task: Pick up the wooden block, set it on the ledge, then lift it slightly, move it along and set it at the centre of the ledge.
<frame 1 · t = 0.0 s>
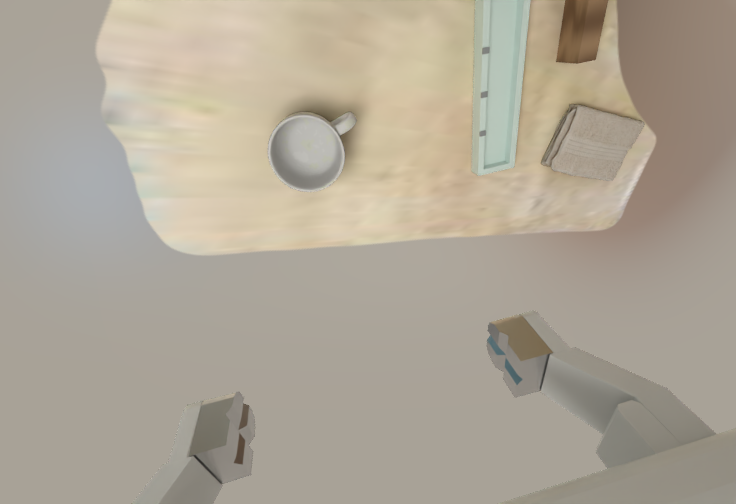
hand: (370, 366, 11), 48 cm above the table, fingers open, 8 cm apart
washcloth: (586, 142, 64), on the table
ledge: (495, 88, 54), on the table
teacup: (314, 137, 53), on the table
wooden block: (570, 19, 51), on the table
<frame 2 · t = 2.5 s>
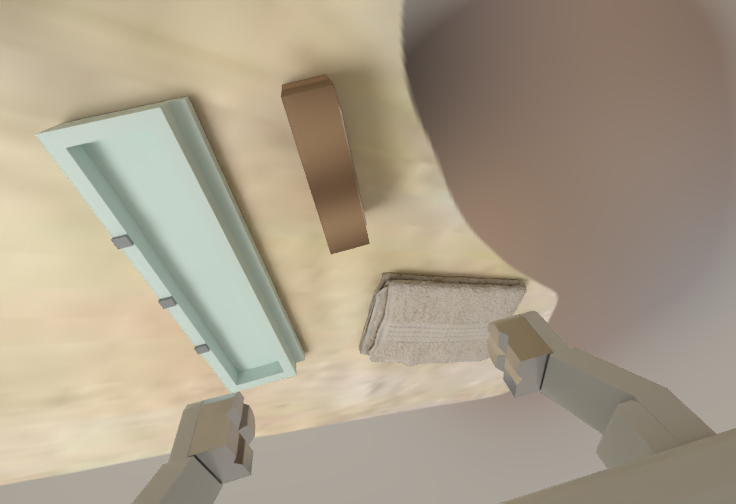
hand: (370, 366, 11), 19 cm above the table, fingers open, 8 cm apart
washcloth: (436, 310, 39), on the table
ledge: (217, 270, 29), on the table
wooden block: (325, 157, 25), on the table
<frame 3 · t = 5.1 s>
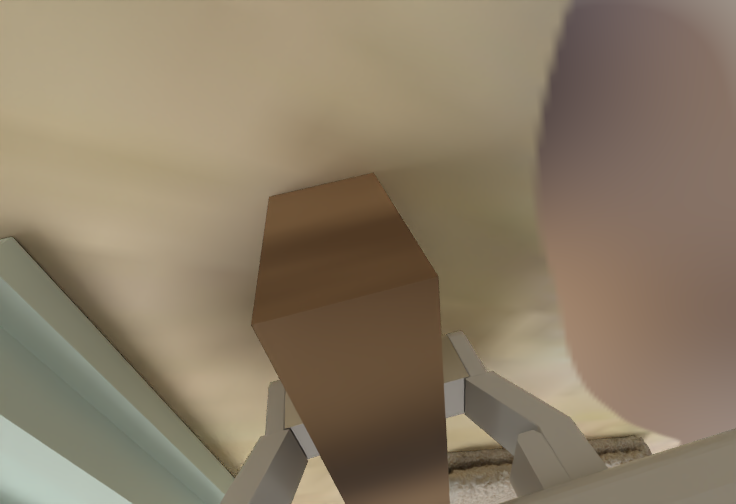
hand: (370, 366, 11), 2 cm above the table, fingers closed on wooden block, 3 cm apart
washcloth: (504, 474, 25), on the table
ledge: (142, 493, 16), on the table
wooden block: (356, 319, 12), on the table, touching gripper
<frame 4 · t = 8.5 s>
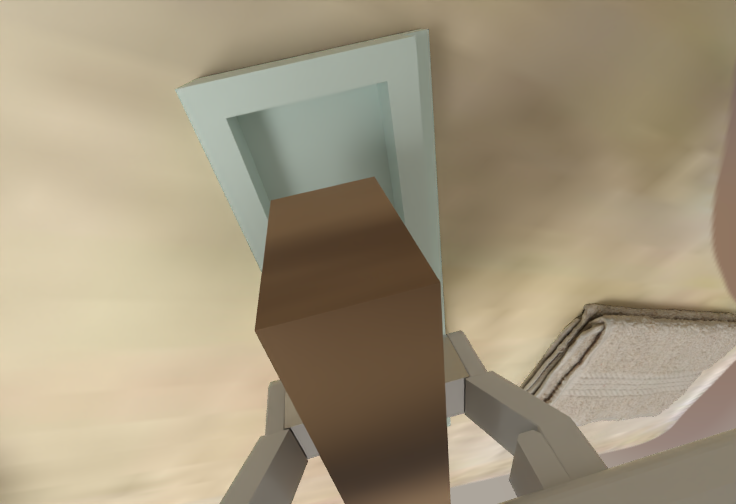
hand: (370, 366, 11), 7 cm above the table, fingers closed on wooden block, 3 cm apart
washcloth: (614, 350, 29), on the table
ledge: (373, 316, 19), on the table
wooden block: (357, 322, 12), point 5 cm above the table, touching gripper
when the fingers open (4 cm above the table, at t = 11.6 s): wooden block stays where it is, resting on ledge.
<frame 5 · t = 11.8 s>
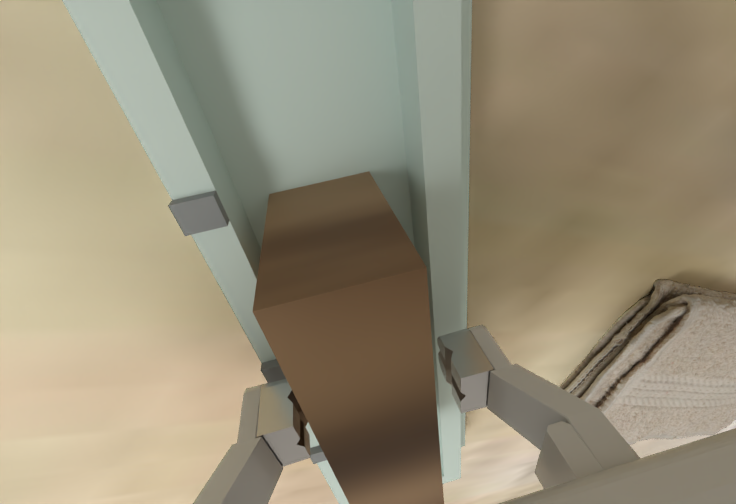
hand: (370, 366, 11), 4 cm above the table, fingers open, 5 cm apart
washcloth: (671, 350, 23), on the table
ledge: (365, 292, 14), on the table
wooden block: (353, 314, 13), point 1 cm above the table, touching ledge
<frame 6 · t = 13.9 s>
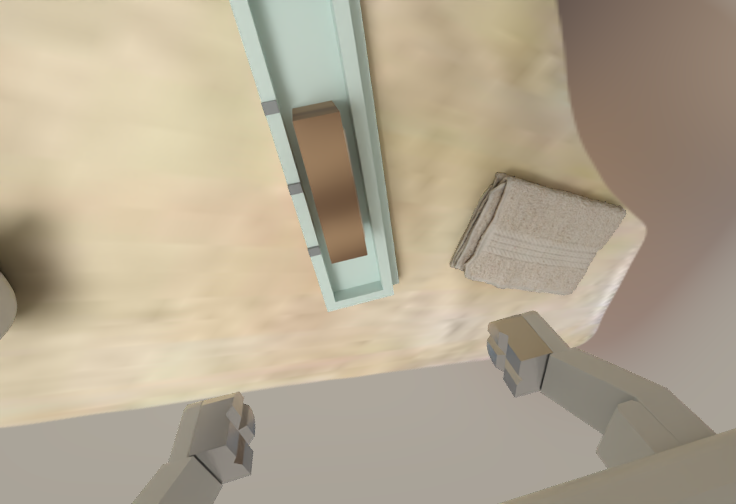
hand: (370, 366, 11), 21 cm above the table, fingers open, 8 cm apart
washcloth: (529, 233, 37), on the table
ledge: (334, 168, 28), on the table
wooden block: (328, 174, 27), point 1 cm above the table, touching ledge
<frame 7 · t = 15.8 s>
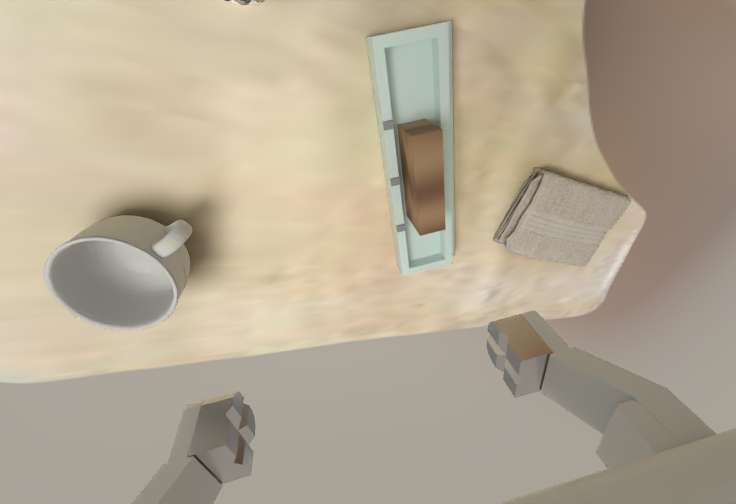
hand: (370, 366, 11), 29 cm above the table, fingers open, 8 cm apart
washcloth: (554, 216, 47), on the table
ledge: (417, 166, 38), on the table
teacup: (157, 239, 37), on the table
wooden block: (414, 171, 38), point 1 cm above the table, touching ledge
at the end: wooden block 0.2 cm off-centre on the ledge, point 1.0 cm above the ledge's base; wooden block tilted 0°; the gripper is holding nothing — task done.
